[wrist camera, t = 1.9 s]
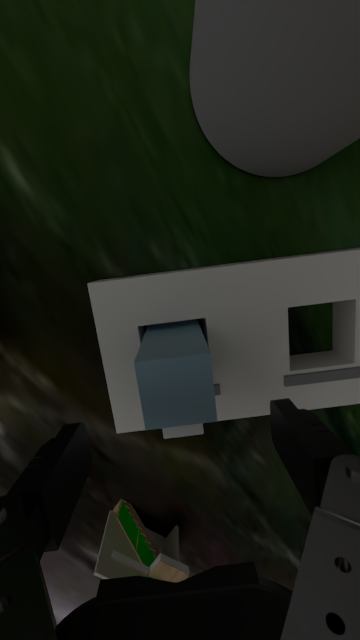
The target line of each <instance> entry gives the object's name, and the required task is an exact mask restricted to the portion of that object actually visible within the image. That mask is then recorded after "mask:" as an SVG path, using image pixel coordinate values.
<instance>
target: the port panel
mask: <svg viewBox="0 0 360 640" xmlns="http://www.w3.org/2000/svg"><path fill="white" fill-rule="evenodd" d="M87 285H88V290H89V295H90V300H91V305H92V310H93V315H94V320H95V325H96V331H97V336H98V341H99V346H100V351H101V356H102V361H103V366H104V371H105V376H106V381H107V386H108V391H109V396H110V401H111V406H112V411H113V416H114V422H115V427H116V432H117V433H125V432H133V431H141V430H145V425H144V419H143V413H142V407H141V401H140V395H139V389H138V384H137V378H136V372H135V366H134V361H135V358H136V356H137V353H138V350H139V348H140V345H141V342H142V340H143V337H144V334H145V333H144V325H152V324H160V323H168V322H176V321H184V320H192V319H200V318H202V319H203V329H204V338H205V340H206V343H207V345H208V348H209V350H210V353H211V362H212V372H213V382H214V392H215V401H216V411H217V421H222V420H230V419H238V418H246V417H254V416H262V415H270V401H271V400H277V399H285V398H289V399H290V400H291V401H292V402H293V403H294V405H295V406H296V407H297V408H298V409H306V410H311V409H319V408H327V407H335V406H344V405H352V404H360V247H359V248H351V249H343V250H335V251H327V252H319V253H311V254H303V255H295V256H287V257H279V258H271V259H263V260H255V261H247V262H239V263H231V264H223V265H215V266H207V267H199V268H191V269H183V270H175V271H167V272H159V273H151V274H143V275H135V276H127V277H119V278H111V279H103V280H97V281H94V282H90V283H87ZM328 302H333V306H332V350H331V351H323V352H315V353H307V354H299V355H291V356H289V331H288V307H296V306H304V305H312V304H320V303H328Z"/></svg>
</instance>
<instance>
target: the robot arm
mask: <svg viewBox="0 0 360 640" xmlns="http://www.w3.org/2000/svg"><path fill="white" fill-rule="evenodd" d="M270 418H271V434H272V440H273V443H274V446H275V449H276V451H277V452H278V454H279V456H280V458H281V460H282V462H283V464H284V465H285V467H286V469H287V471H288V473H289V475H290V477H291V478H292V480H293V482H294V484H295V486H296V488H297V490H298V491H299V493H300V495H301V497H302V499H303V501H304V503H305V504H306V506H307V508H308V510H309V512H310V514H311V516H312V520H311V524H310V528H309V532H308V536H307V540H306V543H305V547H304V551H303V555H302V559H301V563H300V566H299V570H298V574H297V578H296V582H295V586H294V590H293V592H292V591H291V590H289V589H288V588H286V587H284V586H282V585H280V584H278V583H276V582H273V581H270V580H267V579H264V578H259V577H258V576H257V572H256V568H255V565H254V562H248V563H240V564H231V565H223V566H215V567H213V568H211V569H208V570H206V571H204V572H201V573H199V574H197V575H194V576H192V577H190V578H188V579H185V580H183V581H180V582H169V581H164V580H159V579H154V578H149V577H144V576H139V575H137V576H128V577H120V578H111V579H102V580H100V584H99V588H98V592H97V596H96V597H95V598H92V599H90V600H89V601H87V602H85V603H83V604H82V605H80V606H79V607H78V608H76V609H75V610H73V611H72V612H71V613H70V614H69V615H67V616H66V617H65V618H64V619H63V620H62V621H61V622H60V623H59V624H58V625H57V624H56V620H55V616H54V613H53V609H52V605H51V601H50V598H49V594H48V590H47V587H46V583H45V579H44V576H43V572H42V568H41V565H40V560H41V557H42V555H43V553H44V552H48V551H57V550H58V549H59V546H60V544H61V541H62V539H63V536H64V534H65V531H66V529H67V526H68V524H69V521H70V519H71V516H72V514H73V512H74V509H75V507H76V504H77V502H78V499H79V497H80V494H81V492H82V489H83V487H84V484H85V482H86V479H87V477H88V474H89V472H90V469H91V464H92V455H91V450H90V445H89V441H88V436H87V432H86V427H85V425H84V423H74V424H66V425H64V426H63V427H62V428H61V430H60V431H59V433H58V434H57V436H56V437H55V438H51V439H50V440H49V441H48V442H47V443H45V444H44V445H43V446H42V447H40V449H39V450H38V452H37V453H36V454H35V456H34V459H32V460H31V461H30V463H29V464H28V467H26V468H25V470H24V471H23V472H22V474H21V475H20V477H19V478H18V479H17V481H16V482H15V484H14V485H13V486H12V488H11V489H10V491H9V492H8V493H7V495H4V496H1V497H0V640H360V457H359V456H355V455H352V454H351V453H350V452H349V451H348V450H347V449H346V447H345V446H344V445H343V444H342V443H341V442H340V441H339V440H338V439H337V438H336V437H335V435H334V434H333V433H332V432H330V431H329V429H328V428H327V427H326V426H325V425H323V422H322V421H321V420H320V419H319V418H318V417H317V416H316V415H315V414H313V413H311V412H310V411H308V410H306V409H298V408H297V407H296V406H295V405H294V403H293V402H292V401H291V400H290V399H289V398H285V399H277V400H271V401H270Z"/></svg>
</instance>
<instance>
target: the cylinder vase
mask: <svg viewBox="0 0 360 640" xmlns="http://www.w3.org/2000/svg"><path fill="white" fill-rule="evenodd" d="M190 91H191V97H192V103H193V107H194V110H195V114H196V117H197V119H198V122H199V124H200V126H201V128H202V130H203V132H204V134H205V136H206V137H207V139H208V141H209V142H210V143H211V145H212V146H213V147H214V148H215V150H216V151H217V152H218V153H219V154H220V155H221V156H222V157H223V158H225V159H226V160H227V161H228V162H230V163H231V164H233V165H234V166H236V167H238V168H239V169H241V170H244V171H246V172H248V173H251V174H255V175H259V176H265V177H284V176H290V175H295V174H298V173H301V172H304V171H307V170H309V169H311V168H313V167H315V166H317V165H319V164H320V163H322V162H323V161H325V160H327V159H328V158H330V157H331V156H333V155H334V154H336V153H337V152H339V151H340V150H342V149H344V148H345V147H347V146H348V145H350V144H351V143H353V142H354V141H356V140H358V139H359V138H360V0H196V1H195V12H194V24H193V35H192V47H191V58H190Z"/></svg>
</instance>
